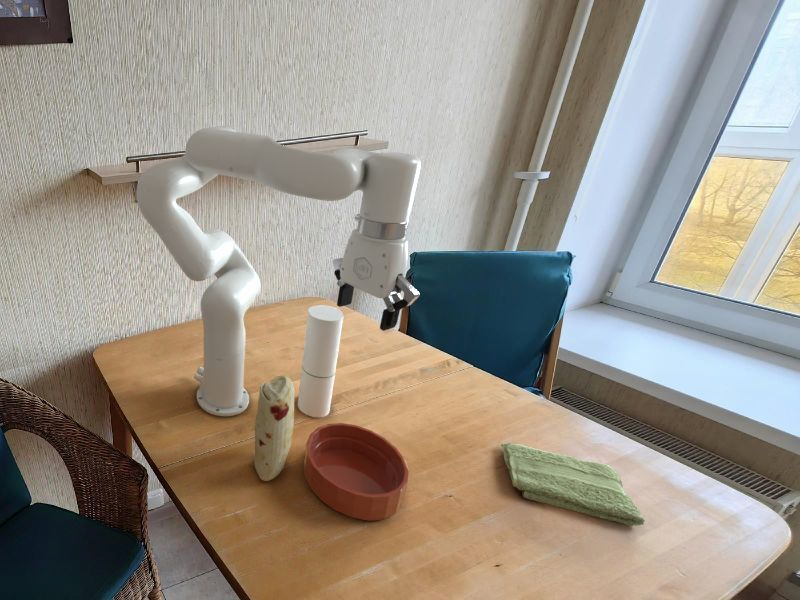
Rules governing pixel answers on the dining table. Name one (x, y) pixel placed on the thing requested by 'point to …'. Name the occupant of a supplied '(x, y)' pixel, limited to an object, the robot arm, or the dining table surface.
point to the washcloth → (570, 483)
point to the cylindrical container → (319, 360)
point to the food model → (273, 426)
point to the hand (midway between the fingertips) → (364, 316)
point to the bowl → (355, 471)
